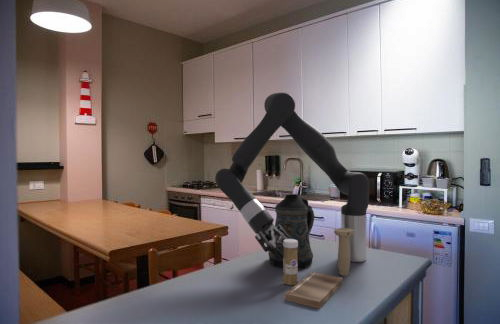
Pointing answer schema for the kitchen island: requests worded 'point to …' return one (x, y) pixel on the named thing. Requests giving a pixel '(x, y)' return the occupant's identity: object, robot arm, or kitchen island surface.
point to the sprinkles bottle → (290, 261)
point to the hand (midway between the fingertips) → (288, 256)
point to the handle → (344, 250)
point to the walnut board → (314, 289)
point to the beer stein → (295, 228)
